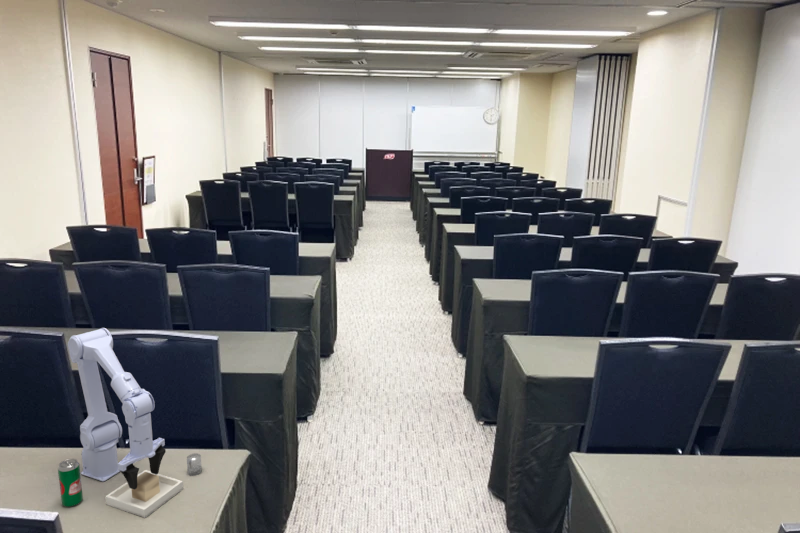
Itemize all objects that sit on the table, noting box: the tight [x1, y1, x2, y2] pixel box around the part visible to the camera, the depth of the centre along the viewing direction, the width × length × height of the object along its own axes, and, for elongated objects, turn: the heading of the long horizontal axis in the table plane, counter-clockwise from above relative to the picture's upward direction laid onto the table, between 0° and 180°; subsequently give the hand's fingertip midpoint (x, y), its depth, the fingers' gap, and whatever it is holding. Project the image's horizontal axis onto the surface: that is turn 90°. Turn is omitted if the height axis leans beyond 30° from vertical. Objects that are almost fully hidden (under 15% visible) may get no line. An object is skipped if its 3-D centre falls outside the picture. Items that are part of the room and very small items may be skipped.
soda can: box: [57, 458, 84, 508], centre depth 152 cm, size 5×5×12 cm
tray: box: [104, 469, 184, 519], centre depth 157 cm, size 14×14×2 cm
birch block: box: [132, 472, 160, 502], centre depth 156 cm, size 5×5×5 cm
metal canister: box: [186, 453, 202, 477], centre depth 169 cm, size 4×4×5 cm
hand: (144, 480), depth 156 cm, fingers open, 7 cm apart
